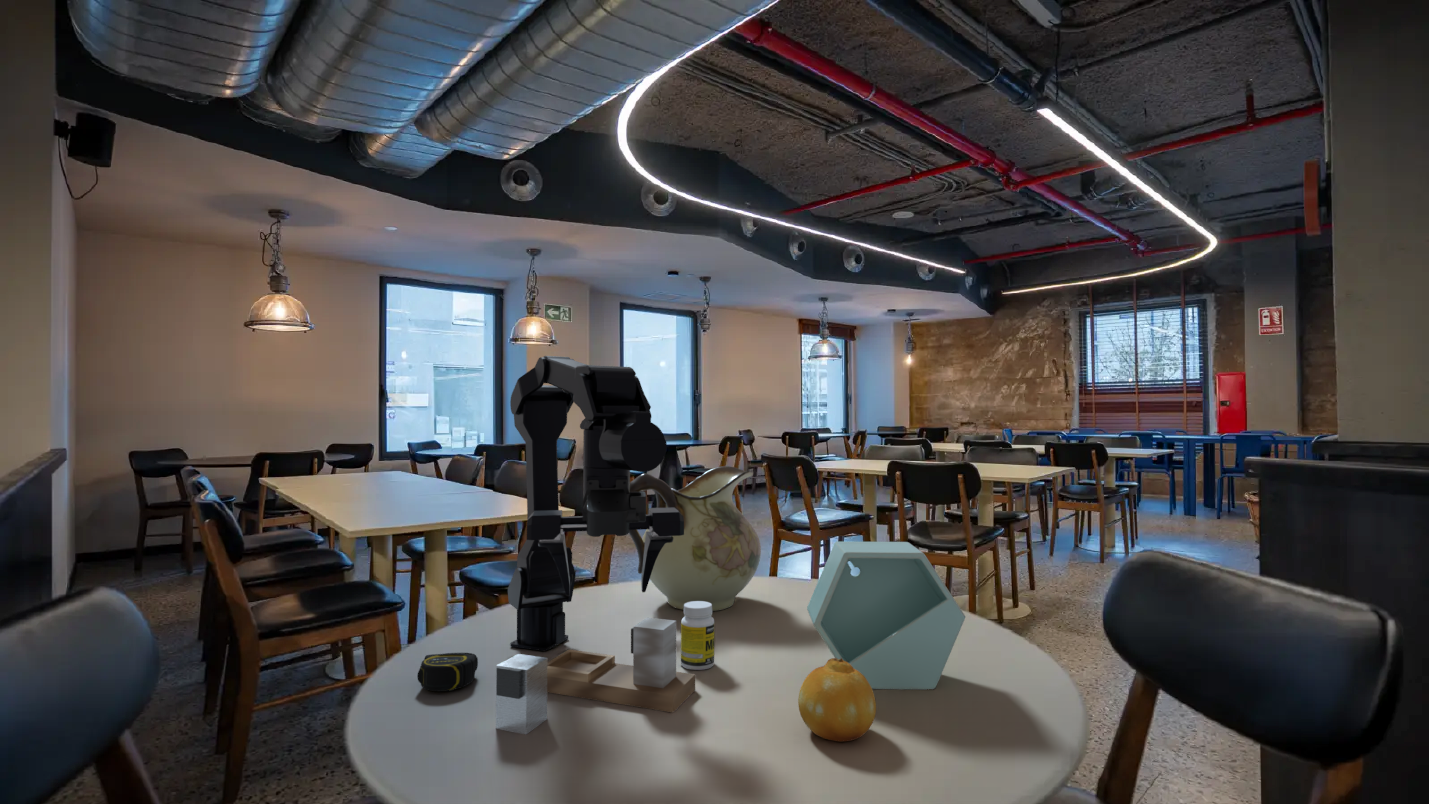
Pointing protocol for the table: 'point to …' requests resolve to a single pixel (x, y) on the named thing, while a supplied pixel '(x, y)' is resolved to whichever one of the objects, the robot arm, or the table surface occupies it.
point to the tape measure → (447, 671)
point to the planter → (886, 614)
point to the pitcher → (703, 540)
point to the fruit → (837, 702)
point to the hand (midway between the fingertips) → (606, 593)
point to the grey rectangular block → (521, 693)
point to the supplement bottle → (697, 636)
